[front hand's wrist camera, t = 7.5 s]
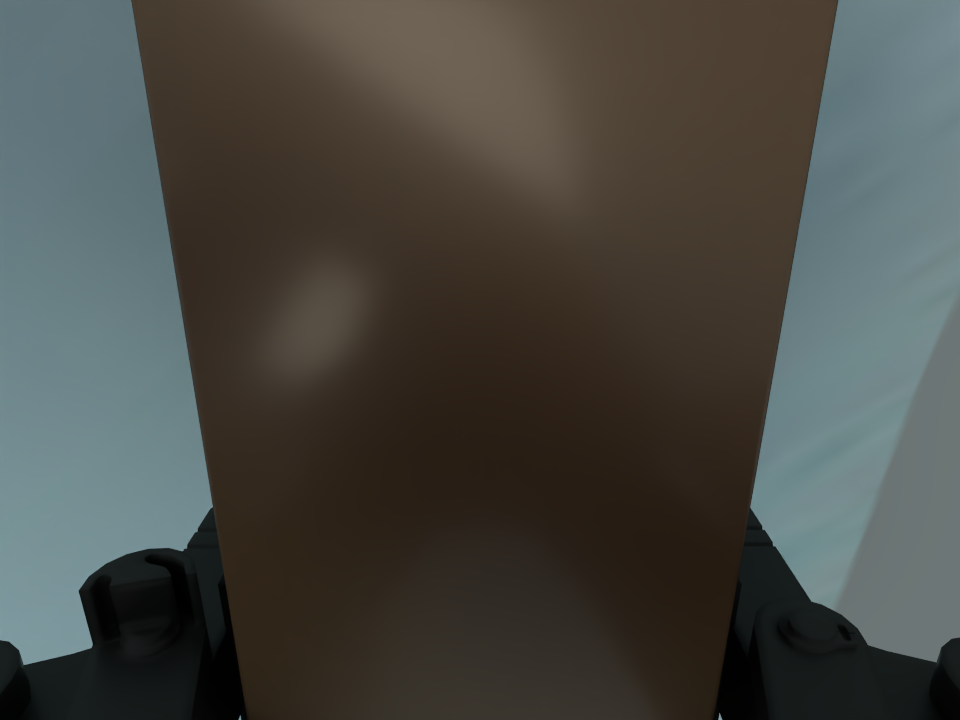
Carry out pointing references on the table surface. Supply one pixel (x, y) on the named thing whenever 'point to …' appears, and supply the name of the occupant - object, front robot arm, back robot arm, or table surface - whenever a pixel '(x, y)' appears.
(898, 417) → the table surface
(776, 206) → the post
